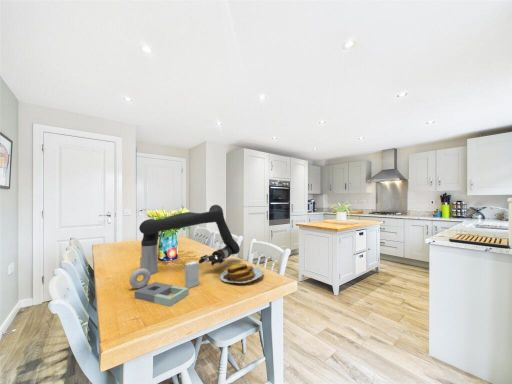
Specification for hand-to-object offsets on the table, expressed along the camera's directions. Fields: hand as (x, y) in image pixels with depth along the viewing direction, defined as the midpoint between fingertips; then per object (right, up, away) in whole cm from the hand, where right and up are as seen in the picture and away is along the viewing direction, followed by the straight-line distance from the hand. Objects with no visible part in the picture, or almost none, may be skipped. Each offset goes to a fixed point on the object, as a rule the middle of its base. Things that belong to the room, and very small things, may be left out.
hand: (205, 262), depth 125 cm
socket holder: (-16, -9, -23) cm, 29 cm away
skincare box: (-5, -9, -11) cm, 15 cm away
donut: (-31, -9, -13) cm, 35 cm away
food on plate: (+21, -10, +1) cm, 23 cm away
